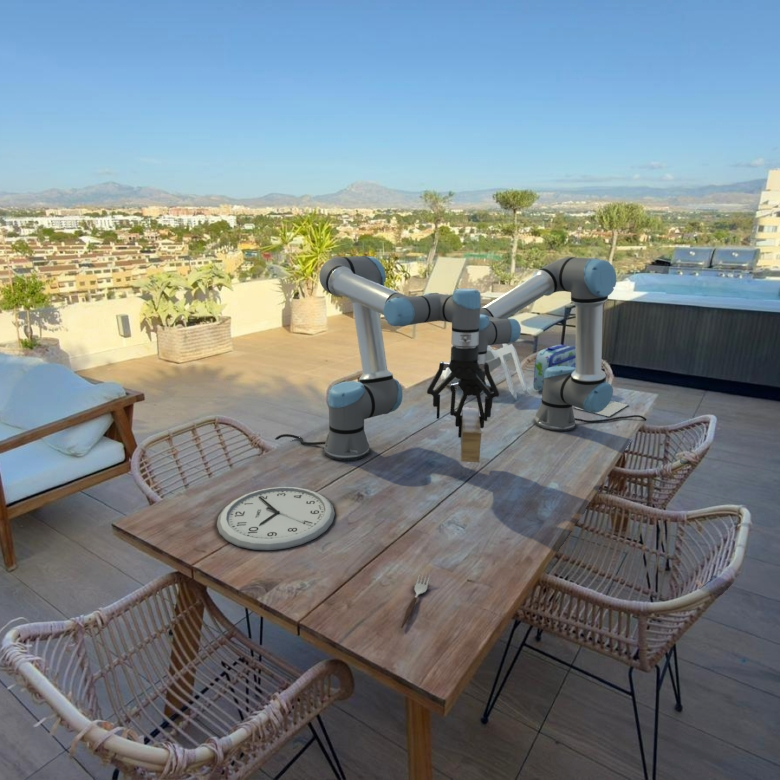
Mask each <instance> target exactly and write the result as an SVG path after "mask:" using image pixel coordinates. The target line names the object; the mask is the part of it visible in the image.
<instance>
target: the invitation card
mask: <svg viewBox="0 0 780 780" xmlns="http://www.w3.org/2000/svg"><path fill="white" fill-rule="evenodd" d="M628 406H629V404H627V403H623V402H618V401H614V400H611V401H610V402H609V404H608V405H607V406H606V408H604V409H603V410H602V411H600V412H597V413H595V414H596V415H600V416H604V417H608V418H609V417H611V416H613V415H614V414H616V413H617V412H619V411H621V410H623V409H624V408H626V407H628ZM573 409H575V410H581V411H584V410H583V409H581V408H578V407H575V406H573ZM587 413H590V412H589V411H587Z"/></svg>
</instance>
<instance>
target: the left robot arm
mask: <svg viewBox="0 0 780 780" xmlns="http://www.w3.org/2000/svg"><path fill="white" fill-rule="evenodd" d="M386 276H387V275H386V270H385V268H384V266H383V263H382V262H381V261H379V260H378V258H376V257H374V256H367V255H357V256H355V255H354V256H335V257H332V258H330V259H328V260H326V261H325V262H324V263H323V265H322V266H321V267H320V270H319V277H318V278H319V282H320V285H321V287H322V289H323V290H324V291H325V292H327V293H328V294H330V295H332V296H334V297H338V298H342V297H344V298H346V300H347V301H349V302H350V303H351V305H352V310H353V316H354V324H355V331H356V336H357V343H358V344H357V345H358V350H359V357H360V363H361V370H362V373H361V376H360V377H359V381H357V380H350V381H342V382H338V383H336V384H334V385H333V386H332V387H331V388H329V391H328V399H327V403H328V425H329V426H328V433H327V437H326V439H325V441H312V442H311V441H304V439H303V437H301V436H299V435H294V434H289V433H284V434H280V435H277V436H276V437H275V438H274V440H275V441H276V440H277V441H278V440H279V439H281V438H294V439H296V440H300V443H301V444H302V445H305V446H318V445H319V446H320V445H324V446H323V452H324V455H325V456H326V457H327V458H329V459H332V460H336V461H342V462H343V461H347V462H348V461H356V460H360V459H363V458H365V457H367V456H368V455H369V453H370V444H369V441H368V438H367V434H366V431H365V420H367V419H371V418H374V417H378V416H382V415H388V414H390V413H392V412H395V411H397V410H398V409H399V408H400V406H401V405H402V402H403V394H404V393H403V388H402V385H401V384H400V381H399V380H397V379H396V378H394V375H393V373H392V372H391V371H390V370H389V368H388V363H387V356H386V350H385V344H384V343H385V342H384V336H383V329H382V323H381V322H382V321H381V316H380V315H382V316H383V318H384V320H385V321H386V323H387V324H388V325H390V326H392V327H406V326H411V325H418V324H424V323H425V324H426V323H433V322H447V323H451V341H450V343H451V345H452V346H451V347H450V357H451V361H450V360H449V361H450V363H449V362H444V361H442V360H441V361H440V362H439V366H438V369H437V371H436V373H435V374H434V376H433V378H432V380H431V381H430V384H429V385H428V387H427V390H426V393H427V395H430V396H432V406H433V407H434V408H436V419H437V420H439V419H440V416H441V415H440V414H441V392H443V390H444V389H445V388H447V386H449V385H448V384H449V383H450V382H451V381H452V380H453V379H454V378H455V377H456V378H458V379H463V378H464V379H470V378H473V380H474V381H475V382H476V383H477V384H478V385H479V387H480V388H481V389H482V390H483V391H482V392H483V393H484V394H485V396H484V409H483V411H484V422H487V421H488V417H487V415H488V409H491V410H492V408H493V399H494V398H496V397H500V392H499V390H498V387H497V385H496V383H495V381H494V379H493V376H492V374H491V372H489V365H488V363H484V364H478V347H477V345H478V344H479V320H480V309H481V308H482V302H481V301H482V300H481V299H482V298H481V296H482V295H481V292H480V290H478V289H475V288H457V289H453V292H452V294H443V293H438V292H427V293H425V294H424V295H415V296H413V295H411V296H409V295H406V294H403V293H401V292H399V291H396V290H394V289H392V288H390V287H387V286H386V285H385V282H386V280H387V279H386ZM448 367H449V369H450V370H451V373H450V374H449V376H448V377H447V378H446V379H445V380H444V381H442V382H441V383H440V384H438V386H437V387H436V385H437V383H438V382H439V379H441V374H442V372H443V370H446V368H448ZM479 368H480V369H481V370H482V371H483V372H485V375H486V376H485V378H486V379H487V381H488V383H489V385H490V386H491V388H492V390H493V392H490V390H489V389H488V388H487V387H486V385H485V384H484V383H483V382H482V380H481V379H480V378H479V377H478V375H477V374H476V372H477V371H478V369H479ZM435 387H436V388H435ZM434 388H435V389H434ZM299 437H300V438H299Z"/></svg>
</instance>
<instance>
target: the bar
mask: <svg viewBox="0 0 780 780" xmlns="http://www.w3.org/2000/svg"><path fill="white" fill-rule="evenodd" d="M461 415H462V425H461V438H460V461H461V462H466V463H480V455H481V443H482V428H481V427H480V419H479V416H480V412H479V407H467V406H466V407H465V406H463V409H462V411H461Z"/></svg>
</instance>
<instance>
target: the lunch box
mask: <svg viewBox="0 0 780 780" xmlns="http://www.w3.org/2000/svg"><path fill="white" fill-rule="evenodd" d="M555 366H569V367H575V368H576V346H571V345H565V344H556V345H553V346H549V347H546V348H544V349H541V350H539V351H538V353H537V354H536V357H535V361H534V371H533V372H534V373H533V389H534V390H535V391H539V392H542V390H543V379H544V374H545V370H546V369H547V368H549V367H555Z"/></svg>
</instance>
